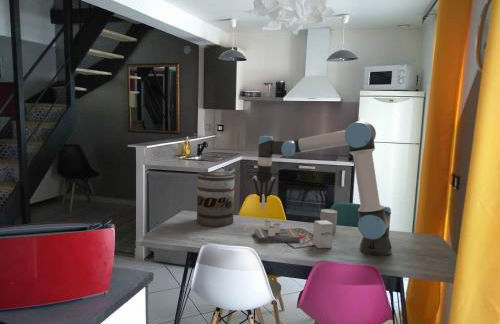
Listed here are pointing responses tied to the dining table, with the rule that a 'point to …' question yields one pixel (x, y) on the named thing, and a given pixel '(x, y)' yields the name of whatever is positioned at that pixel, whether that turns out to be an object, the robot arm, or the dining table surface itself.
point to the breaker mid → (277, 227)
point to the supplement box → (323, 234)
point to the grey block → (329, 217)
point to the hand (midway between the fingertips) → (262, 208)
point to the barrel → (215, 199)
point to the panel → (277, 236)
